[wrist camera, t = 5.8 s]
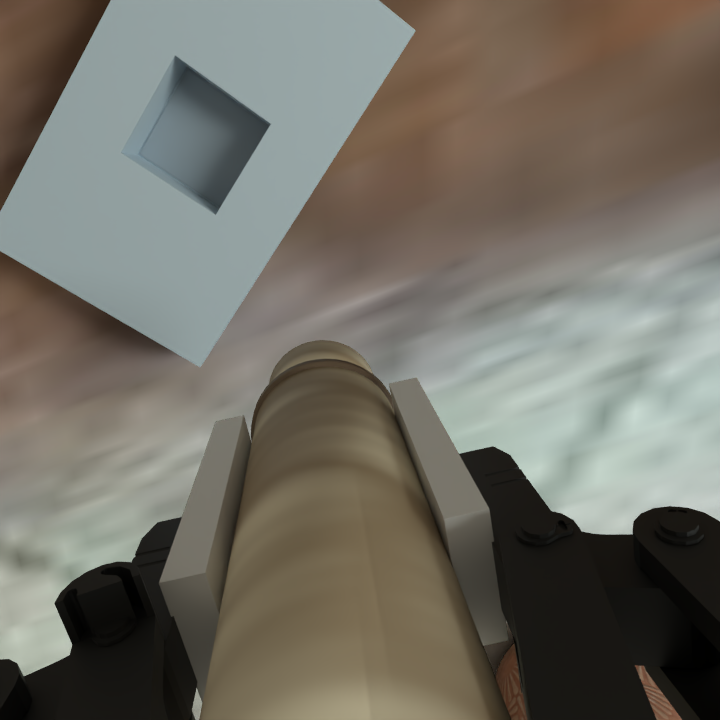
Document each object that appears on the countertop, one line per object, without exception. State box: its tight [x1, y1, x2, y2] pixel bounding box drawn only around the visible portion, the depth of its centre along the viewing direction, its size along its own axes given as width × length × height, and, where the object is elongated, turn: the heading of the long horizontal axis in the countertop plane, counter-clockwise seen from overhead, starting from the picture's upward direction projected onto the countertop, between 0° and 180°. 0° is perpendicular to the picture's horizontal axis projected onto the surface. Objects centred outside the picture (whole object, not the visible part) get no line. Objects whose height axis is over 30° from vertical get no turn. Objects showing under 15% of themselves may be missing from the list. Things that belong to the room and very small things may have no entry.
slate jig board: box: [0, 0, 416, 367], centre depth 31 cm, size 20×12×4 cm, turn 145°
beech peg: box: [199, 340, 511, 720], centre depth 12 cm, size 4×4×16 cm
